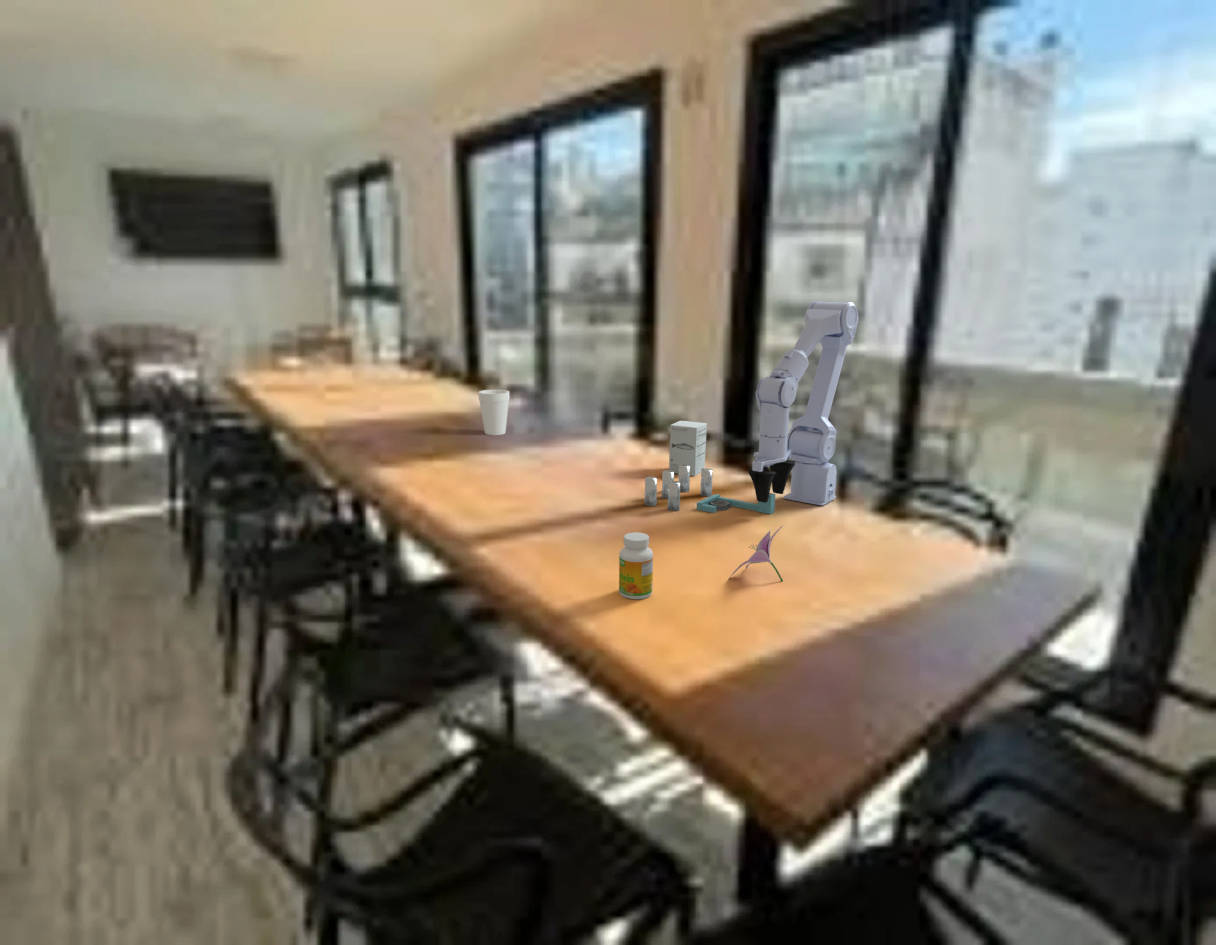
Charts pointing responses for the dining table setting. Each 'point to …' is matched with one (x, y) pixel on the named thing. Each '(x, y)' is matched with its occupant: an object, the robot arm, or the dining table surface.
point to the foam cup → (494, 410)
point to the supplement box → (687, 446)
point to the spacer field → (676, 486)
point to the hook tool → (738, 504)
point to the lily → (762, 552)
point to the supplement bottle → (635, 567)
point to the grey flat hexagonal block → (720, 504)
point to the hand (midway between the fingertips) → (770, 497)
